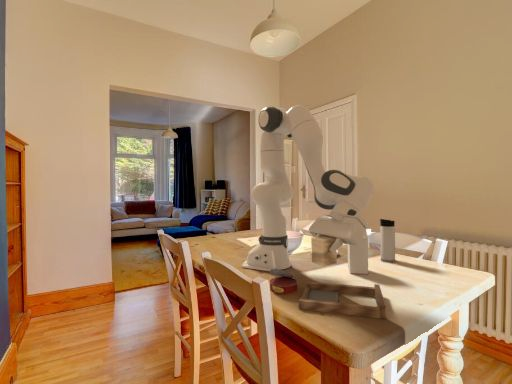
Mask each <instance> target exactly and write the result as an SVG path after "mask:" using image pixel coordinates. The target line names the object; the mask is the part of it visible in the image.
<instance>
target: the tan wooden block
mask: <svg viewBox="0 0 512 384" xmlns="http://www.w3.org/2000/svg"><path fill="white" fill-rule="evenodd" d="M310 238H311V249H312V254H311V263H314V264H316V265H320V266H322V267H327V266H331V265H335V264H337V263H338V260H337V259H338V255H337V252H336V250H337V249H336V250H335V252H334V253H331V252H329V251H328V247H329V246H330V245H333V244H334V243H335V242H336V241H335V240H336V238H332V237H327V236H319V237H314V236H312V237H310Z"/></svg>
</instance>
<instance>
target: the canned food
mask: <svg viewBox="0 0 512 384" xmlns="http://www.w3.org/2000/svg"><path fill="white" fill-rule="evenodd" d="M268 272H269V274H270V275H272V276H276V277H273V278H271V279H270V280H269V285H270V286H269V288H270V289H269V290H270V291H271V293H274V294H278V295H290V294H291V295H292V294H294V293H296V292H297V291H298V280H297V279H298V277H297V276H295V275H293V274H290V273H288V272H286V271H284V270H283V269H281V270H279V269H271V270H270V271H268Z"/></svg>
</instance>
